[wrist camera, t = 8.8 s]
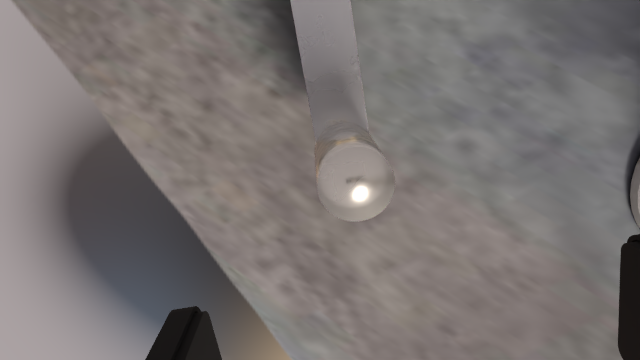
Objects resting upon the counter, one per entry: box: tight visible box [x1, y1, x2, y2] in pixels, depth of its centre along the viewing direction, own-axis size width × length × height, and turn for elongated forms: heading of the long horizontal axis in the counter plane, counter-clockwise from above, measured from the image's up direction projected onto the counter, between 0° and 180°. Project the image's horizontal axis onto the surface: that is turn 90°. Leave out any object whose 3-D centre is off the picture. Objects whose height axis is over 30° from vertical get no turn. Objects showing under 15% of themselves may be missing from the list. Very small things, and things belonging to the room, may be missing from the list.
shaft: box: [290, 0, 395, 222], centre depth 22 cm, size 3×17×9 cm, turn 10°
